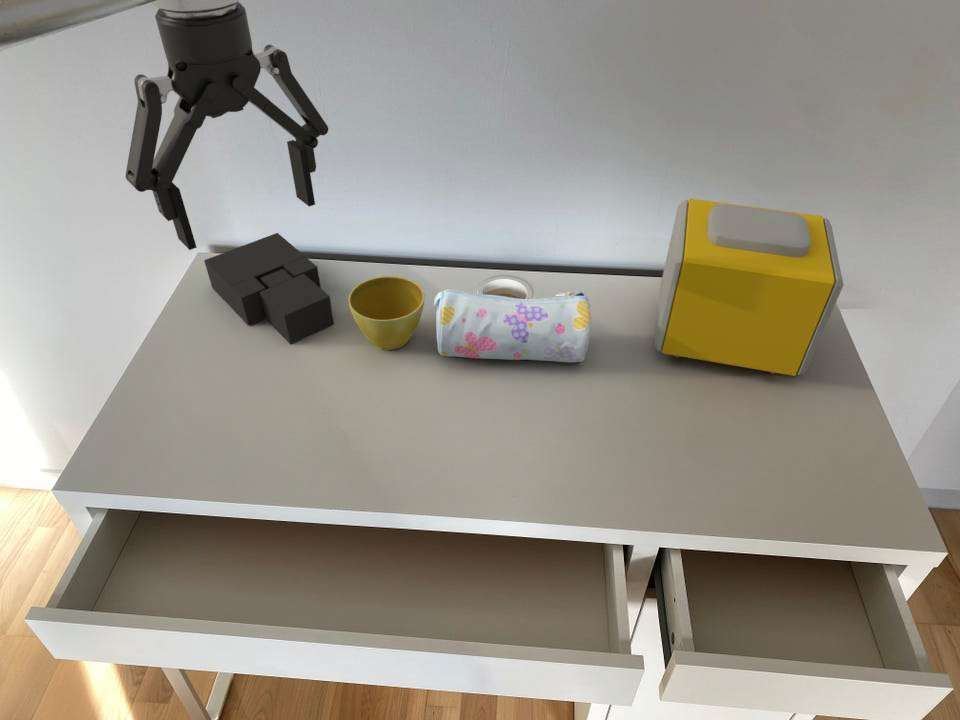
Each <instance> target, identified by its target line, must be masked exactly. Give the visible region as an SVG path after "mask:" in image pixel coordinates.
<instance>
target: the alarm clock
mask: <svg viewBox="0 0 960 720" xmlns="http://www.w3.org/2000/svg"><path fill="white" fill-rule="evenodd" d="M668 245H669V246H668V249H667V255H666V259H665V264H664V268H663V272H662V277H661V282H660V285H659V293H658V294H659V295H658V302H657V310H656V318H655V319H656V320H655V328H654V335H653V346H654V348H655V350H656V351H658V352H659V353H661V354H665V355H670V356H674V358H677V359H679V358H680V357H681V358H686V359H687V358H688V359H694V360H700V361H705V362H711V363H716V364H717V363H718V364H723V365H728V366H735V367H740V368H746V369H752V370H756V371H757V370H758V371H764V372H768V373H769V374H771V375H775V374H781V375H786V376H792V377H796V376H800V375H803V374H805V373H806V372H807V371H808V369H809V366H810V363H811V362H812V359H813V358H814V354H815V353H816V350H817V347H818V345H819V344H820V341H821V340H822V336H823V334H824V332H825V329H826V327H827V325H828V323H829V320H830V318H831V315H832V314H833V311H834V309H835V306H836V303H837V302H838V299H839V297H840V295H841V292H842V289H843V287H844V281H843V276H842V270H841V267H840V266H841V265H840V261H839V256H838V251H837V246H836V242H835V235H834V231H833V227H832V224H831V221H830V220H829V219H828V218H826V217H825V218H824V217H823V215H818V214H809V213H803V212H795V211H789V210H780V209H773V208H764V207H759V206H758V207H757V206H750V205H742V204H734V203H729V202H728V203H727V202H719V201H713V200H712V201H711V200H704V199H697V198H689V199H685V200H683V201H682V202H680V203H679V204H678V205H677V208H676V213H675V219H674V222H673V227H672V230H671V236H670V240H669V244H668Z"/></svg>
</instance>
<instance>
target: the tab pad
mask: <svg viewBox="0 0 960 720" xmlns="http://www.w3.org/2000/svg"><path fill="white" fill-rule="evenodd" d="M261 282H262V285H263V286H264V287H265V288H266V290H264V291H261V292H260V295H261V299H262V304H263V308H264V312H265V316H266V319H265V320H266V321H267V323H269V324H270V326H272V328H273V329H274V330H275V331H276V332H278V333H279V334H280V335H281V337H283V339H284V340H286V341H287V342H288V344H290V345H292V344H295V343H296V342H298V341H301V340H303V339H306V338H308V337H310V336H312V335H314V334H316V333H319V332H321V331H322V330H324V329H327V328H329V327H331V326H333V325H335V321H334V315H333V310H332V303H331V296H330V294H328V293H327V292H326V291H324V290H323V289H322V287H321V288H320V287H318V286H317V285H316V284H315V283H314V282H313V281H312V280H310V279H309V278H308V277H307V276H306V275H305V274H302V275H300V276H297V277H295V278H293V277H292V276H291V275H289V274H288V273H287V272H286V271H285V270H284V269H281V270H279V271H276V272H274V273H272V274H269V275H267V276H264V277H262V278H261Z"/></svg>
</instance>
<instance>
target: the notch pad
mask: <svg viewBox="0 0 960 720" xmlns="http://www.w3.org/2000/svg"><path fill="white" fill-rule="evenodd" d="M203 261H204V265H205V268H206V271H207V276H208V279H209V282H210V286H211V288H212V289H213V291H214V292H215V293H217V294H218V296H219V297H220V298H221V299H222V300H223V301H224V302H225V303H226V304H227V305H228V306H229V307H230V308H231V309H232V310H233V311H234V312H235V314H236V315H238V317H240V319H242V321H243V322H244V323H245V324H246V325H247V326H248V327H250V326H252V325H255V324H257V323H260V322H262V321H264V320H266V316H265V312H264V308H263V304H262V299H261V295H260V292H261V291H264V290H266V288H265V287H264V286H263V285H262V282H261V278H262V277H264V276H267V275H269V274H272V273H274V272H276V271H279V270H281V269H284V270H285V271H286V272H287V273H288V274H289V275H291V276H292V277H293V278H295V277H297V276H300V275H302V274H305V275H306V276H307V277H308V278H309V279H310V280H312V281H313V282H314V283H315V284H316V285H317V286H318V287H320V288H321V289H322V285H321V280H320V274H319V268H318V266H317V265H316V264H315V263H314V262H313V261H311V259H309V258H308V257H306V255H305V254H303V253H302V252H301V251H300V250H299V249H297V247H295V246H294V245H292V243H290V242H289V241H288V240H287V239H285V238H284V237H283V236H282V235H281V234H280V233H279V232H276V233H273V234H271V235H267V236H265V237H263V238H260V239H257V240H254V241H252V242H249V243H247V244H244V245H241V246H238V247H236V248H233V249H230V250H228V251H225V252H222V253H219V254H217V255H214V256H211V257H209V258H207V259H204V260H203Z"/></svg>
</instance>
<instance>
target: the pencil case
mask: <svg viewBox="0 0 960 720" xmlns="http://www.w3.org/2000/svg"><path fill="white" fill-rule="evenodd" d="M433 307H436V310H435V334H436V342H437V352H438V353H439V354H440V356H441V357H449V358H450V357H457V358H470V359H485V360H486V359H488V360H505V361H507V360H508V361H514V360H515V361H522V360H523V361H524V360H529V361H544V362H560V363H581V362H583V361H584V360H585V355H586V354H587V351H588V347H589V342H590V338H591V329H592V313H591V302H590V298H589V296H587V294H586V293H585V292H583V291H578V292H574V291H569V292H562V293H557V294H555V297H544V298H519V297H510V296H504V295H497V294H496V295H495V294H484V293H477V292H476V293H475V292H471V291H462V290H458V289H452V288H447V289H444V290H443V291H439V292H438V293H437V294H436V295H435V297H434V299H433Z"/></svg>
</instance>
